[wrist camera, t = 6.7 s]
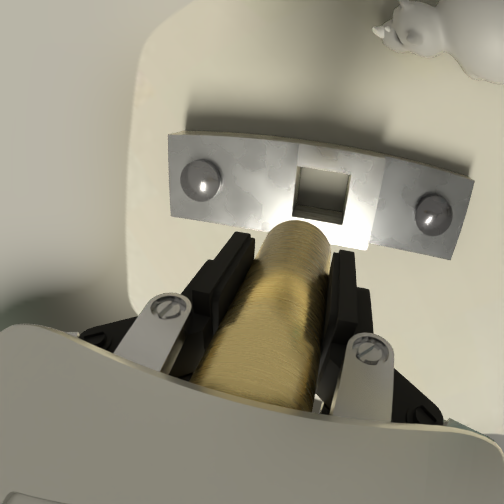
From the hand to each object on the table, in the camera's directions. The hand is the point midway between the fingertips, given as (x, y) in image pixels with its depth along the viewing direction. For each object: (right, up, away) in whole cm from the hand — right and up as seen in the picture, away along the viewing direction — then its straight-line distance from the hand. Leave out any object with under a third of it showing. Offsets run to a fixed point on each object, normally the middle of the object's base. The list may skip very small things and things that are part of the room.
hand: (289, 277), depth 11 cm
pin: (+1, +1, +2) cm, 2 cm away
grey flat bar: (+4, +6, +11) cm, 14 cm away
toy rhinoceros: (+13, +17, +3) cm, 22 cm away
